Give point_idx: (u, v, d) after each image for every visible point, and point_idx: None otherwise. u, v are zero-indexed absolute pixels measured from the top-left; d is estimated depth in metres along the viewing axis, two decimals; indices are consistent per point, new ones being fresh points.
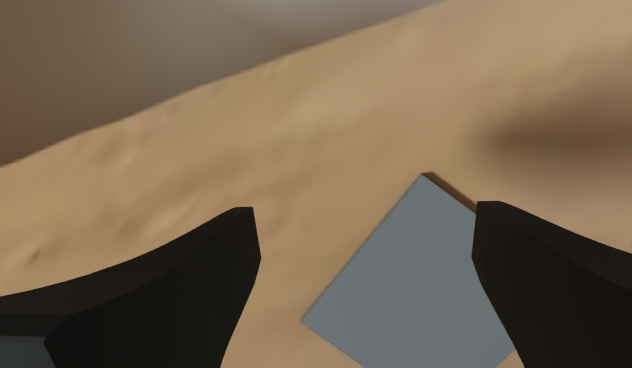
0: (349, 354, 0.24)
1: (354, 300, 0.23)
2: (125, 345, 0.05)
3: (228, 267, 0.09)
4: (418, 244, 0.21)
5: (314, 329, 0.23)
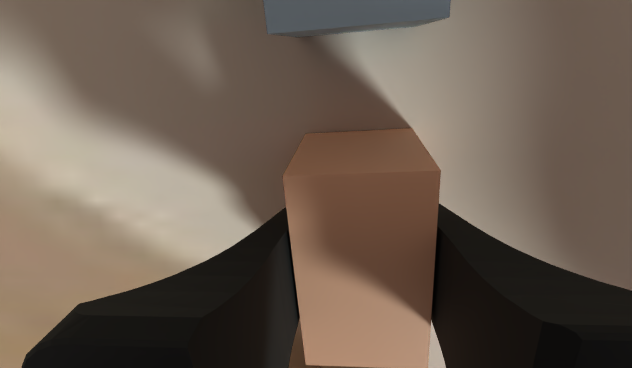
0: None
1: None
2: (235, 348, 0.05)
3: (292, 267, 0.09)
4: None
5: None
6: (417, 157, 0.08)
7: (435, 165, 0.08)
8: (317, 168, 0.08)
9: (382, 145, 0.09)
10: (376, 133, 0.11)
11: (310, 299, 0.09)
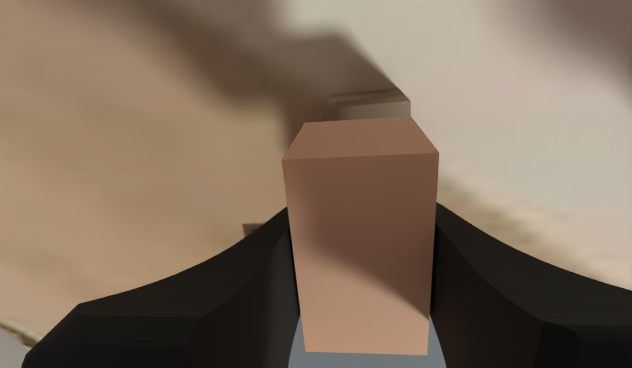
0: None
1: (401, 359, 0.23)
2: (234, 348, 0.05)
3: (291, 267, 0.09)
4: None
5: None
6: (416, 141, 0.08)
7: (433, 148, 0.08)
8: (316, 152, 0.08)
9: (381, 131, 0.09)
10: (375, 121, 0.11)
11: (310, 285, 0.09)
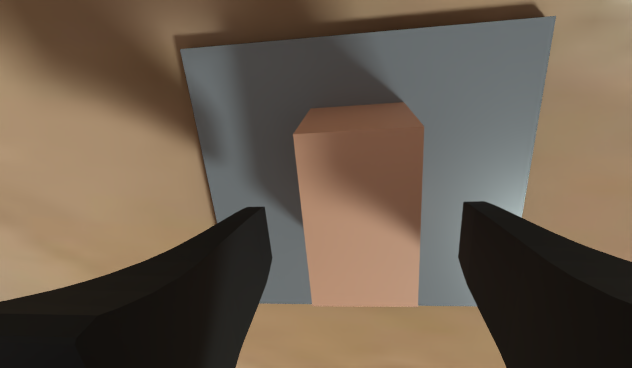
0: None
1: (424, 272, 0.15)
2: (149, 346, 0.05)
3: (242, 267, 0.09)
4: (297, 259, 0.16)
5: None
6: (406, 119, 0.10)
7: (420, 123, 0.09)
8: (322, 129, 0.10)
9: (377, 113, 0.11)
10: (372, 106, 0.12)
11: (316, 244, 0.11)
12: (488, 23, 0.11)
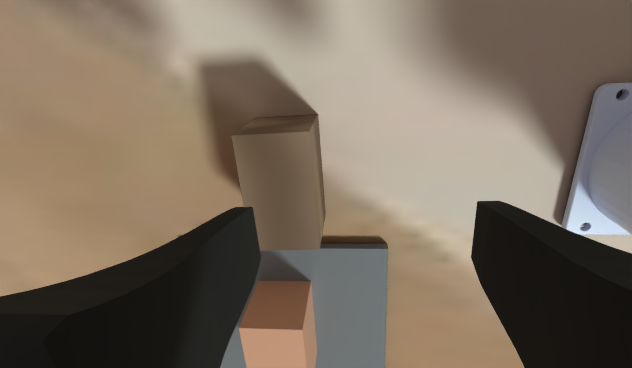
0: (383, 347, 0.23)
1: None
2: (125, 345, 0.05)
3: (228, 267, 0.09)
4: None
5: None
6: (299, 316, 0.19)
7: (302, 325, 0.18)
8: (254, 322, 0.19)
9: (289, 301, 0.20)
10: (291, 285, 0.21)
11: None
12: (353, 249, 0.20)
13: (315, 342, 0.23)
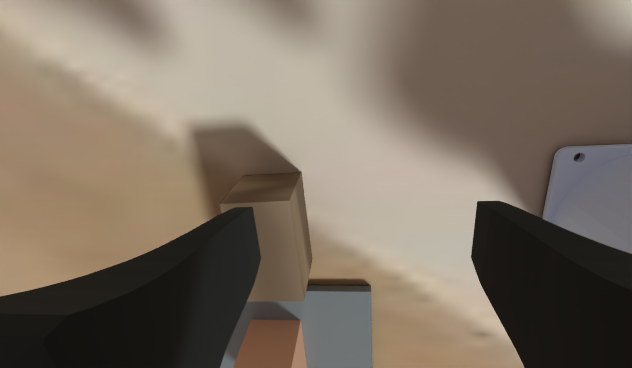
0: None
1: None
2: (125, 345, 0.05)
3: (228, 267, 0.09)
4: None
5: None
6: (287, 358, 0.20)
7: (290, 367, 0.20)
8: (246, 364, 0.20)
9: (279, 342, 0.21)
10: (282, 325, 0.23)
11: None
12: (338, 292, 0.22)
13: None
